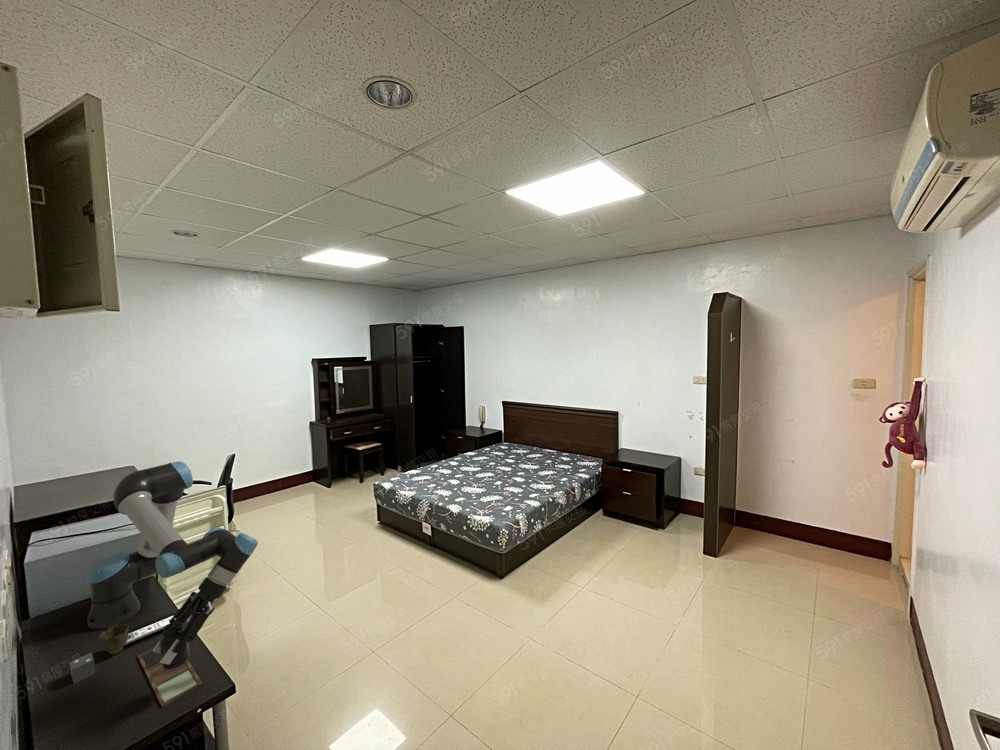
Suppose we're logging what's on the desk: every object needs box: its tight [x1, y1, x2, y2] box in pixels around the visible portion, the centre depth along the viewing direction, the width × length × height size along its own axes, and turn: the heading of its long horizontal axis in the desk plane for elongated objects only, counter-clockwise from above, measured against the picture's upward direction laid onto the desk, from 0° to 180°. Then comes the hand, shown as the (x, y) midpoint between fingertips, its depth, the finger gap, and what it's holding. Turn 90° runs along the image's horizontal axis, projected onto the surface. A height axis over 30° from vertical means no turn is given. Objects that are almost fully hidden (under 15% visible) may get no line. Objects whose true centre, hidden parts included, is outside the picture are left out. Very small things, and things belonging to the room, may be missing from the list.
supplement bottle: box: [159, 621, 190, 670], centre depth 127 cm, size 7×7×12 cm
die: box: [69, 652, 96, 684], centre depth 133 cm, size 5×5×5 cm
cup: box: [99, 623, 130, 655], centre depth 142 cm, size 8×7×8 cm
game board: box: [137, 647, 203, 708], centre depth 135 cm, size 31×10×1 cm, turn 52°
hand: (160, 657), depth 124 cm, fingers closed on supplement bottle, 7 cm apart
